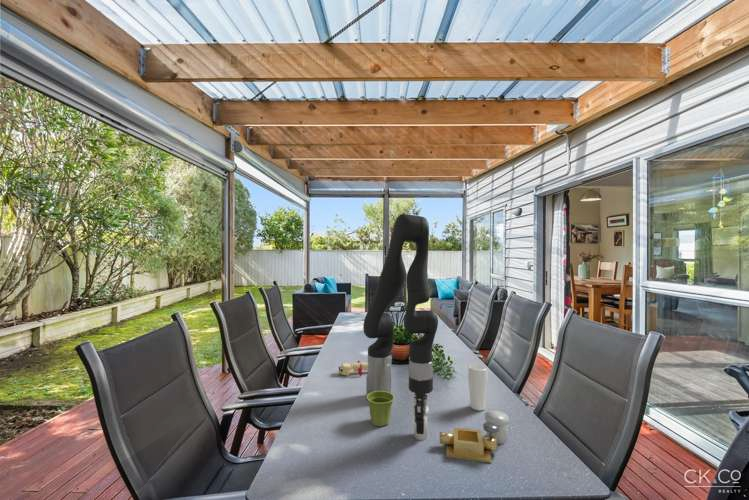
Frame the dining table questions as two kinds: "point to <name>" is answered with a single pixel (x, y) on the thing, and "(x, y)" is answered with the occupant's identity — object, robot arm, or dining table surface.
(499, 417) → the cylinder
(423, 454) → the dining table surface
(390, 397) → the plant pot
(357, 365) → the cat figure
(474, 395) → the white tall cylinder
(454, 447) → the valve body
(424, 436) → the white mushroom shaped knob
